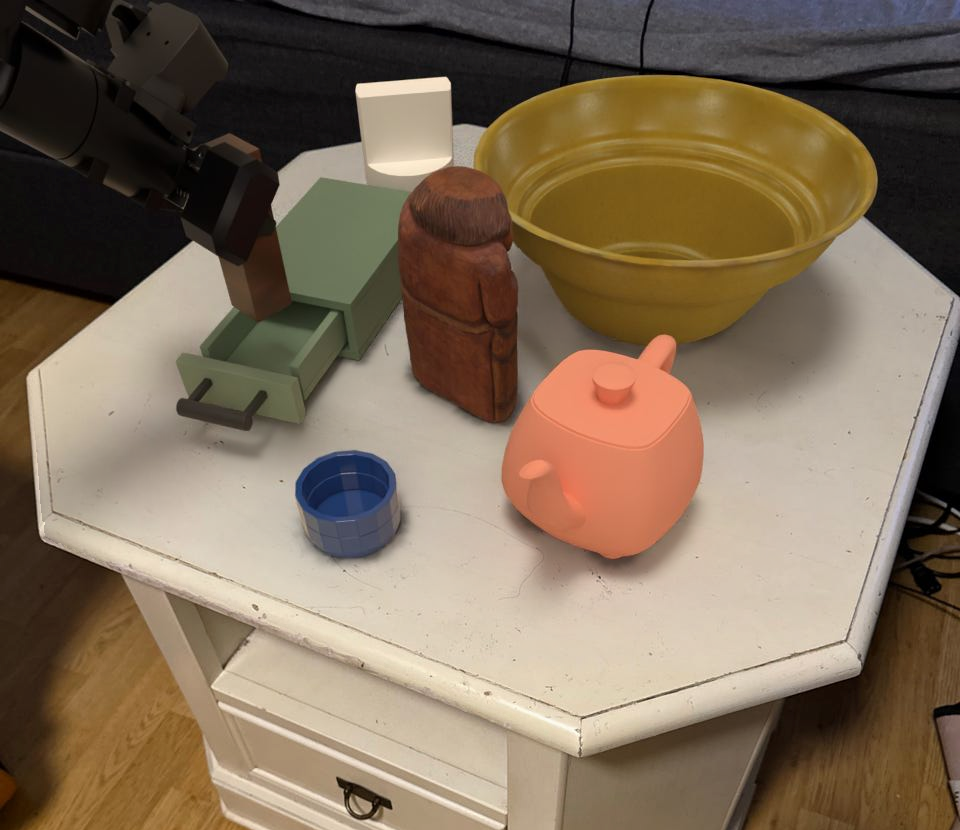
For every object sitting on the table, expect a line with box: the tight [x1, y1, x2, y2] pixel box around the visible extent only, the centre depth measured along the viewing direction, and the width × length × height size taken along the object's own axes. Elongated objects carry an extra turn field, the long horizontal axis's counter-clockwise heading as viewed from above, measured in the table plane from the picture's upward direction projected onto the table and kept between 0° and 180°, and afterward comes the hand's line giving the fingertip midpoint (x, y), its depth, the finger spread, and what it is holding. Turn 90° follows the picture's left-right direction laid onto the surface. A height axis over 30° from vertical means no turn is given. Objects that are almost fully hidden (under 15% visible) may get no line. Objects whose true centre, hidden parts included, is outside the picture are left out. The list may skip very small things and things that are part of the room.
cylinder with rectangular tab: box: [355, 76, 455, 192], centre depth 86 cm, size 9×9×12 cm
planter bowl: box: [472, 74, 879, 347], centre depth 75 cm, size 32×32×13 cm
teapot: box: [501, 335, 705, 560], centre depth 60 cm, size 13×20×12 cm, turn 146°
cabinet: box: [276, 176, 412, 361], centre depth 80 cm, size 19×12×6 cm, turn 161°
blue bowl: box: [294, 449, 402, 559], centre depth 63 cm, size 7×7×4 cm
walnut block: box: [191, 133, 292, 322], centre depth 64 cm, size 4×4×12 cm
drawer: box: [175, 301, 348, 432], centre depth 73 cm, size 22×10×4 cm, turn 161°
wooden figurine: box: [398, 165, 519, 423], centre depth 66 cm, size 12×6×18 cm, turn 49°
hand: (257, 219), depth 65 cm, fingers closed on walnut block, 3 cm apart
